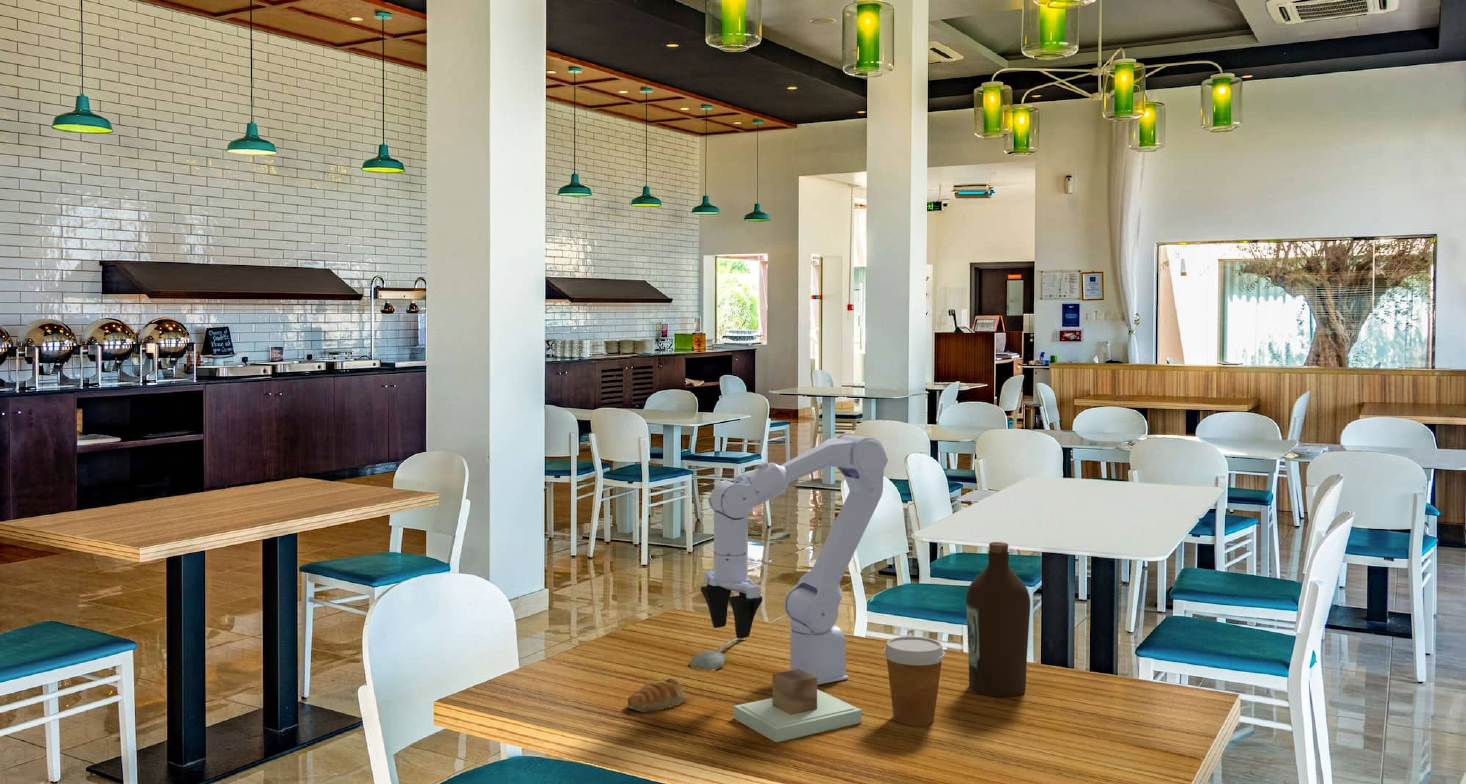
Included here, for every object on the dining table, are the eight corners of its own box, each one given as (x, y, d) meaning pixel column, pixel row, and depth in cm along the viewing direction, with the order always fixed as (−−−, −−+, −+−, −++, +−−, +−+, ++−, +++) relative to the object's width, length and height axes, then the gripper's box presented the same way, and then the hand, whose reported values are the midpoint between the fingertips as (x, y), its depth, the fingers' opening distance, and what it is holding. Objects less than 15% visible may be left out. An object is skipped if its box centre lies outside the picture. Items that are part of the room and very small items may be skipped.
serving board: (816, 700, 177) (816, 687, 177) (861, 722, 167) (861, 708, 167) (733, 718, 169) (733, 704, 169) (776, 742, 159) (776, 728, 159)
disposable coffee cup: (907, 734, 162) (908, 655, 162) (871, 714, 171) (871, 640, 170) (957, 723, 167) (957, 647, 166) (919, 705, 175) (920, 632, 175)
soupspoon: (683, 675, 195) (716, 680, 193) (683, 657, 195) (716, 662, 192) (728, 639, 215) (758, 644, 213) (728, 623, 215) (759, 627, 213)
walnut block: (798, 700, 171) (798, 669, 171) (817, 709, 167) (817, 677, 167) (772, 705, 168) (772, 674, 168) (790, 715, 164) (790, 682, 164)
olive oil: (1022, 679, 188) (1024, 538, 187) (1035, 699, 178) (1037, 550, 177) (961, 678, 189) (962, 537, 188) (970, 698, 179) (971, 549, 177)
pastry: (644, 718, 170) (643, 694, 170) (617, 708, 175) (617, 685, 175) (688, 704, 176) (687, 681, 176) (661, 695, 181) (661, 672, 181)
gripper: (689, 548, 186) (689, 625, 187) (733, 562, 174) (733, 645, 174) (723, 544, 190) (723, 620, 190) (769, 558, 178) (769, 639, 178)
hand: (730, 632), depth 183 cm, fingers open, 7 cm apart
